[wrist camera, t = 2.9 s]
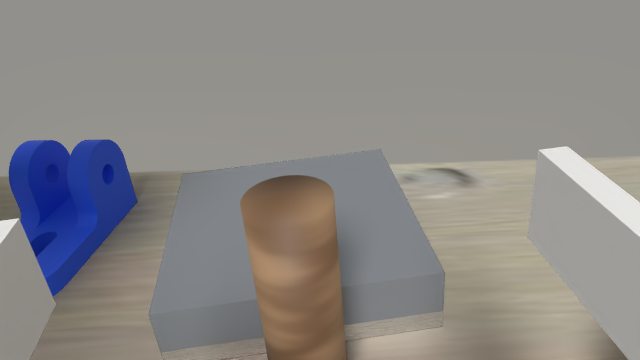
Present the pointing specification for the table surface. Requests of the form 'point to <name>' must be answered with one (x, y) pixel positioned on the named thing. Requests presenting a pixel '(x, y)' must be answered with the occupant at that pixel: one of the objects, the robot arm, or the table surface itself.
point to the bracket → (69, 201)
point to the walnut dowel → (296, 267)
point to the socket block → (236, 273)
